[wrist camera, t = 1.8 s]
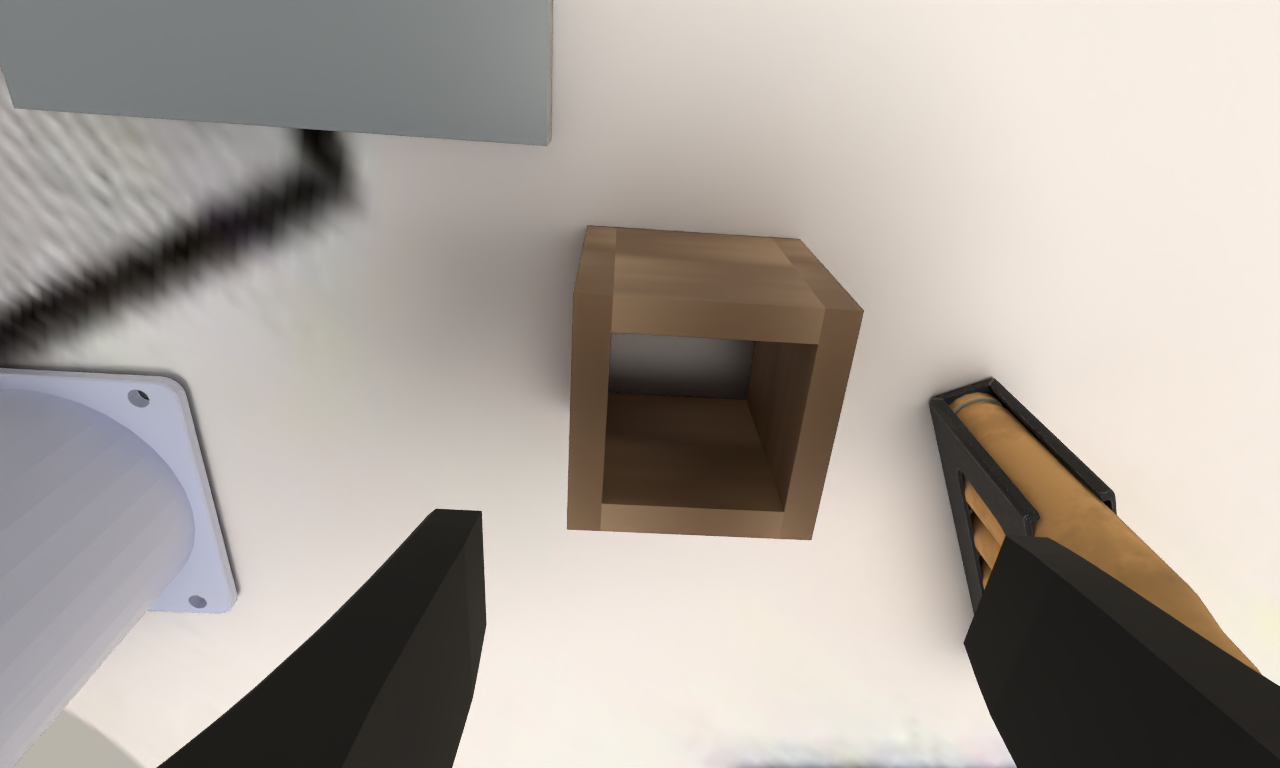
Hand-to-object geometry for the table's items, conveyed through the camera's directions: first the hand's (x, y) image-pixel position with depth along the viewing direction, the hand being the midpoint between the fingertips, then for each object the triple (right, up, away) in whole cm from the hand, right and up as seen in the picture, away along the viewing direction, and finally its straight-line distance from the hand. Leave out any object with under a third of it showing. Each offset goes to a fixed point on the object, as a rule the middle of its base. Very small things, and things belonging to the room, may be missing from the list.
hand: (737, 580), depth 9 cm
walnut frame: (0, +4, +8) cm, 9 cm away
